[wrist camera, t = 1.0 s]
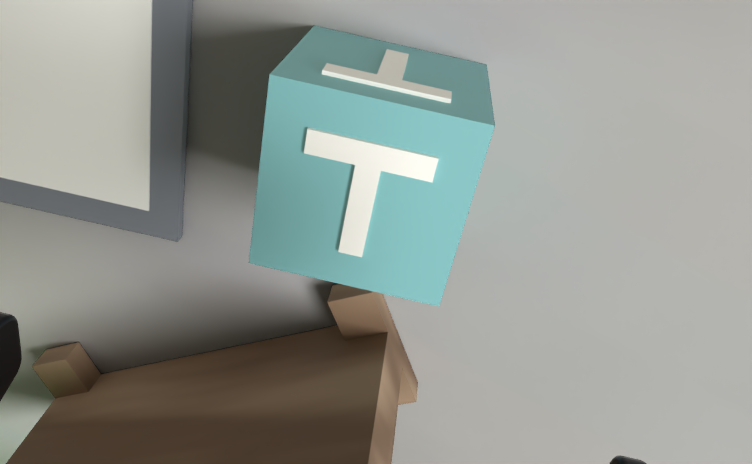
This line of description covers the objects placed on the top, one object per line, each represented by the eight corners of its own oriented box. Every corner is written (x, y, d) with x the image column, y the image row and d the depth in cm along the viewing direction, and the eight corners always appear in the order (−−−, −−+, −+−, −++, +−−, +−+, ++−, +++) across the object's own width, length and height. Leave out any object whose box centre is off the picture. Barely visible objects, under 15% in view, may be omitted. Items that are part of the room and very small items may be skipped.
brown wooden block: (417, 382, 24) (404, 554, 18) (109, 437, 28) (11, 596, 22) (375, 275, 22) (343, 431, 16) (45, 349, 25) (-83, 499, 19)
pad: (182, 235, 22) (176, 242, 22) (-73, 178, 22) (-83, 183, 22) (194, -40, 17) (188, -37, 17) (-126, -113, 17) (-140, -112, 17)
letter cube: (443, 214, 21) (439, 308, 16) (292, 180, 21) (247, 265, 16) (487, 60, 18) (496, 123, 14) (315, 21, 18) (268, 70, 14)
